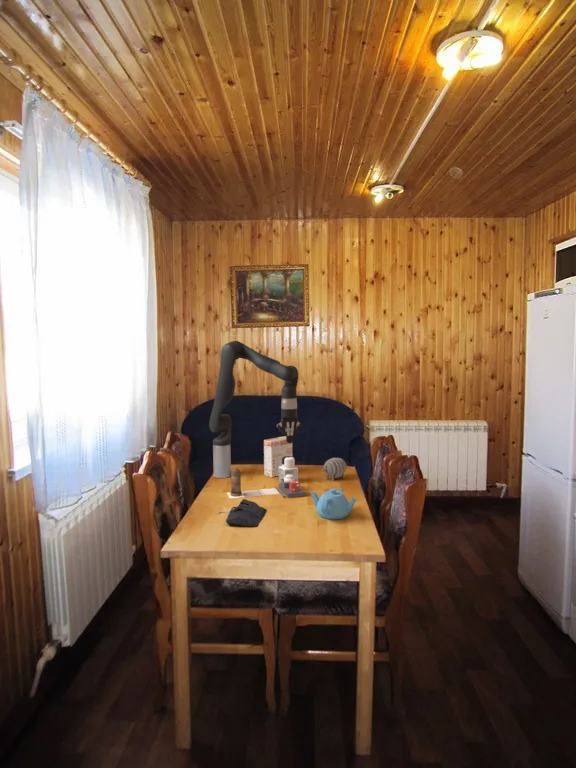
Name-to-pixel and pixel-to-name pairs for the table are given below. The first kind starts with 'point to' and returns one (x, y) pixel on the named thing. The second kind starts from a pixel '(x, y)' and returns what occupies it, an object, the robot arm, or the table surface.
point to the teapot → (333, 504)
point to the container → (288, 467)
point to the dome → (289, 478)
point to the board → (258, 493)
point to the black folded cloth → (246, 514)
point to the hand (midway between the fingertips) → (289, 443)
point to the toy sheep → (334, 468)
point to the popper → (292, 488)
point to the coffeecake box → (275, 454)
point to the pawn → (235, 482)
